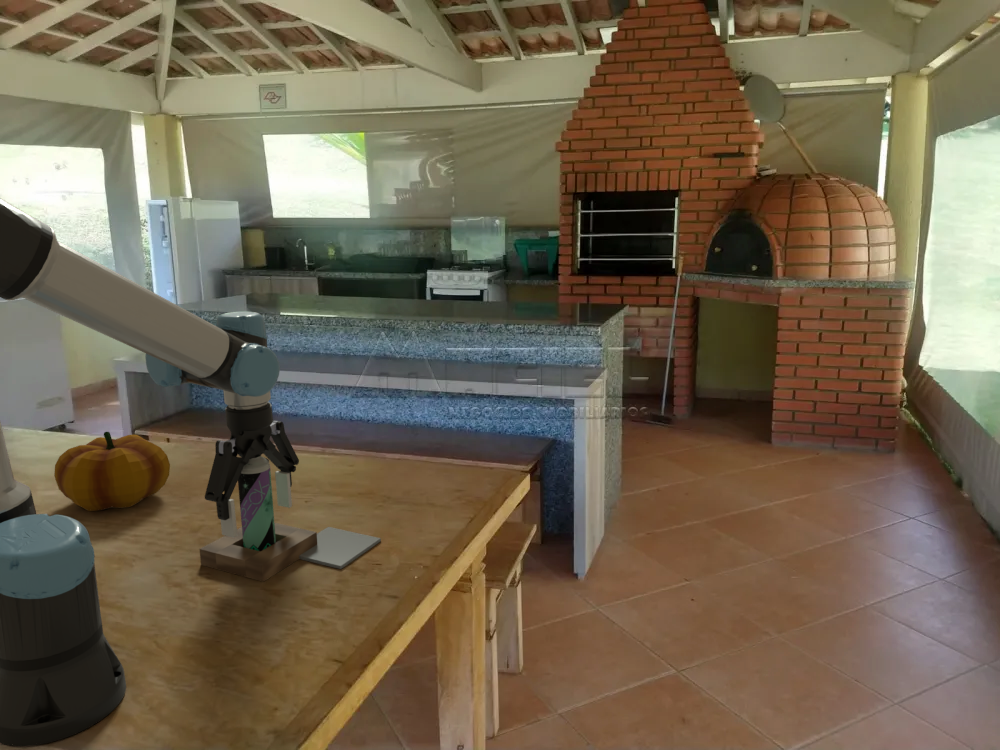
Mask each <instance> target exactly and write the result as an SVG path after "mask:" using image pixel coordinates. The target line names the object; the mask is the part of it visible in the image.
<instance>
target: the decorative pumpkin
mask: <svg viewBox="0 0 1000 750" xmlns="http://www.w3.org/2000/svg"><path fill="white" fill-rule="evenodd" d="M111 435H112V434H111V433H110V431H104V432H103V436H100V437H96V438H94V439H93V440H91V441H89V442H88V443H86V444H81V445H77V446H74V447H70V448H68V449H66V450H65V451H64V452H63V453H62V454H60V455H59V457H58V458H57V460H56V463H55V464H54V474H53V475H54V479H55V482H56V484H57V487H58V490H59V491H60V492H61V493H62V494H63V495H64V496H65V497H66V498H67V499H69V500H71V502H73V504H74V505H77V506H79V507H81V508H82V509H84V510H86V511H88V512H96V511H97V512H98V511H103V510H107V509H110V508H115V509H124V508H125V509H127V508H130V507H132V506H135V505H136V504H138V503H139V502H141V501H142V500H145V499H146V498H149V497H150V496H153V495H154V494H157V493H158V492H159V491H160V490H162V488H163V487H164V486H165V485H166V483H167V481H168V478H169V476H170V472H171V471H170V470H171V469H170V468H171V463H170V461H169V457H168V455H167V454H166V452H165V451H164V450H163V448H162V447H160V446H159V445H157V444H155V443H153V442H151V441H149V440H147V439H145V438H143V437H142V436H140V435H138V434H128V435H125V436H120V437H119V438H116V439H114V438H112V436H111Z"/></svg>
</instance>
